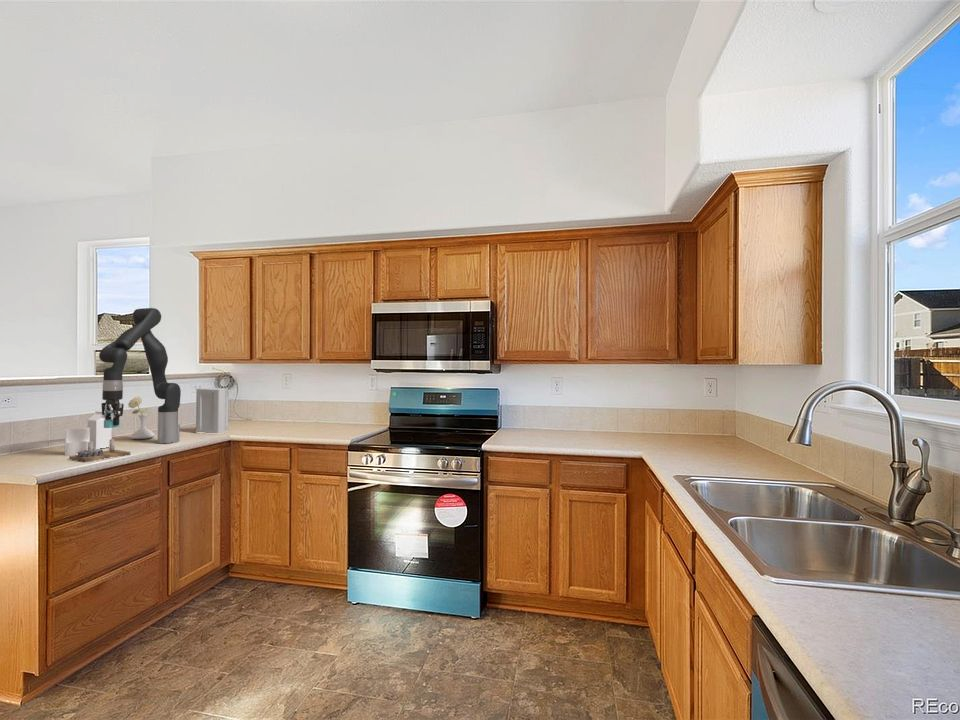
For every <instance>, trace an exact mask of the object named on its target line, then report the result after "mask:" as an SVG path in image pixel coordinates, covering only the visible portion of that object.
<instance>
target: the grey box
mask: <svg viewBox="0 0 960 720" xmlns="http://www.w3.org/2000/svg"><path fill="white" fill-rule="evenodd" d="M229 390H230V389H229V388H228V387H227V388H226V387H225V388H224V387H220V388H217V387H216V388H215V387H214V388H196V395H195V396H196V401H195V402H196V404H195V406H196V407H195V410H196V411H195V433H196V432H205V433H222V432H225V431H226V430H227V429H228V430H229V398H230V397H229V395H230V393H229V392H230V391H229Z"/></svg>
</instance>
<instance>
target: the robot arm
mask: <svg viewBox="0 0 960 720" xmlns="http://www.w3.org/2000/svg"><path fill="white" fill-rule="evenodd" d="M132 317H133V318H132V319H133V322H134V325H133V326H131V327H130V328H128V329H126V330H125V331H124V332H123V333H121V334H120V335H119V337H117V338H116V339H115V340H114V341H112V342H110V343H109V344H108V345H105V346H104V347H103V348H102V349H101V350H100V351H99V355H98V357H99V360H100V361H101V362H103V363H107V364H109V363H110V364H111V363H112V366H111V367H107V368H105V369H103V376H102V377H103V383H102V400H103V401H105V402H101V412H102V415H104V417H105V420H108V419H113V425H119V419H120V417H123V414H124V403H120V400H123V399H124V398H123V397H124V396H123V395H124V394H123V393H124V383H123V371H124V368H125V365H126V363H127V360H128V351H130V350H131V349H132V348H133V346H135V344H136V343H137V342H138V341H139V340H141V343H142V346H143V349H144V353H145V358H146V360H147V363H148V366H149V370H150V374H151V379H152V384H153V392H154V394H155V396H156V398H158V399H160V400H164V402H163V404H161V405H160V406H158V409H157V444H159V443H166V444H172V443H171V442H175V443H178V442H177V441H179V442H180V432H181V431H180V427H181V426H180V424H179V408H180V405H181V397H182V396H181V393H182V392H181V387H180V385H179V384H178V383H175V382H168V381H167V377H166V368H167V366H168V362H169V358H168V357H169V356H168V354H167V349H166V347H165V346H164V344H163V343H162V342H161V341H160V340H159V339H158V338H157V337H156V336H155V335H154V333H153V332H152V329H153V328H154V327H156V326H157V325H159V324H160V322H161V320H162V313H161V311H160V310H159V309H157V308H155V307H148V308H147V307H146V308H137V309H135V310H134V311H133V313H132ZM104 412H105V413H104Z"/></svg>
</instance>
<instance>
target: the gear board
mask: <svg viewBox="0 0 960 720" xmlns="http://www.w3.org/2000/svg"><path fill="white" fill-rule="evenodd" d="M125 455H127V456H131V451H126V450H121V449H115V439H114V438H112V439H110V444H109V448H108V450H103V449H96V450H93V442H92V441H90V442H88V450H85V451H80V452H78V455H70V456H68V457H69V458H68V460H69V459H72V460H71V461H75V460H77V461H76V462H80V461H82V463H90V462H95V461H94V460H96V461H100V460H99V459H102V460H105V459H104V458H109V459H111V458H110V457H115V458H117V457H116V456H121V457H126V456H125ZM89 461H90V462H89Z"/></svg>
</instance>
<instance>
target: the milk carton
mask: <svg viewBox="0 0 960 720" xmlns="http://www.w3.org/2000/svg"><path fill="white" fill-rule="evenodd" d="M104 413H105V412H104ZM104 420H105V417H104V415H102V411H98V410H97V411H96V410H95V413H94V414H93V415H92V416H90V417H88V419H87V428H90V441H92V442H93V449H98V450H101V449H100V448H105V449H107V448H106V447H109V444H110V439H113V437H112V434H113V433H112V432H113V431H112V430H113V428H104Z"/></svg>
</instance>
